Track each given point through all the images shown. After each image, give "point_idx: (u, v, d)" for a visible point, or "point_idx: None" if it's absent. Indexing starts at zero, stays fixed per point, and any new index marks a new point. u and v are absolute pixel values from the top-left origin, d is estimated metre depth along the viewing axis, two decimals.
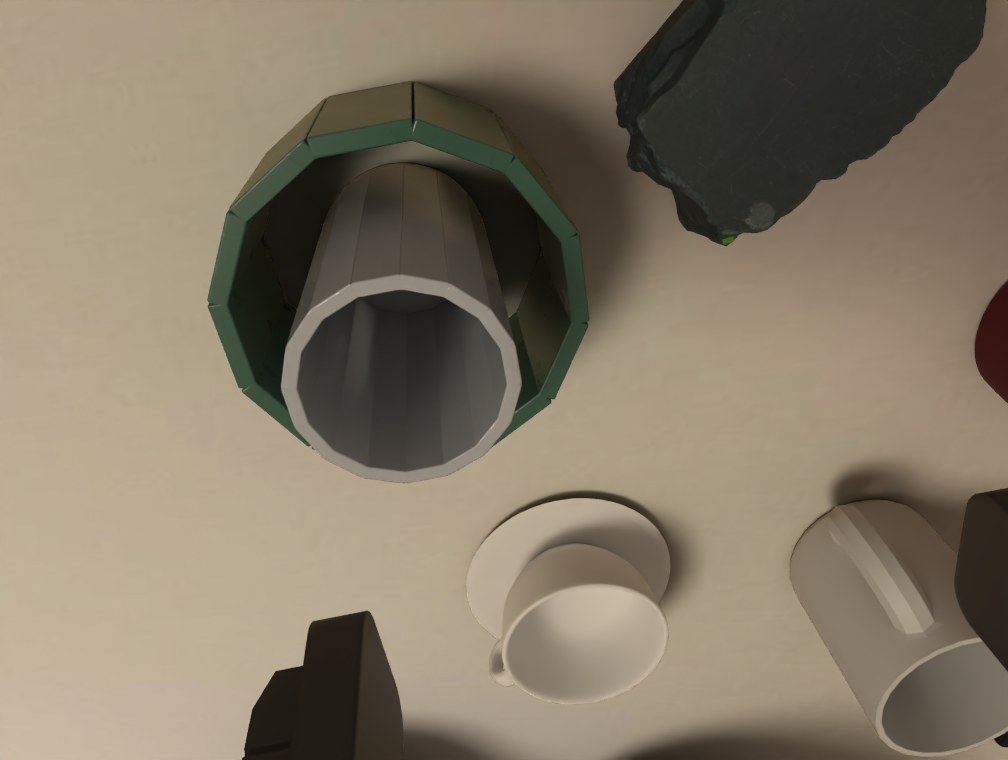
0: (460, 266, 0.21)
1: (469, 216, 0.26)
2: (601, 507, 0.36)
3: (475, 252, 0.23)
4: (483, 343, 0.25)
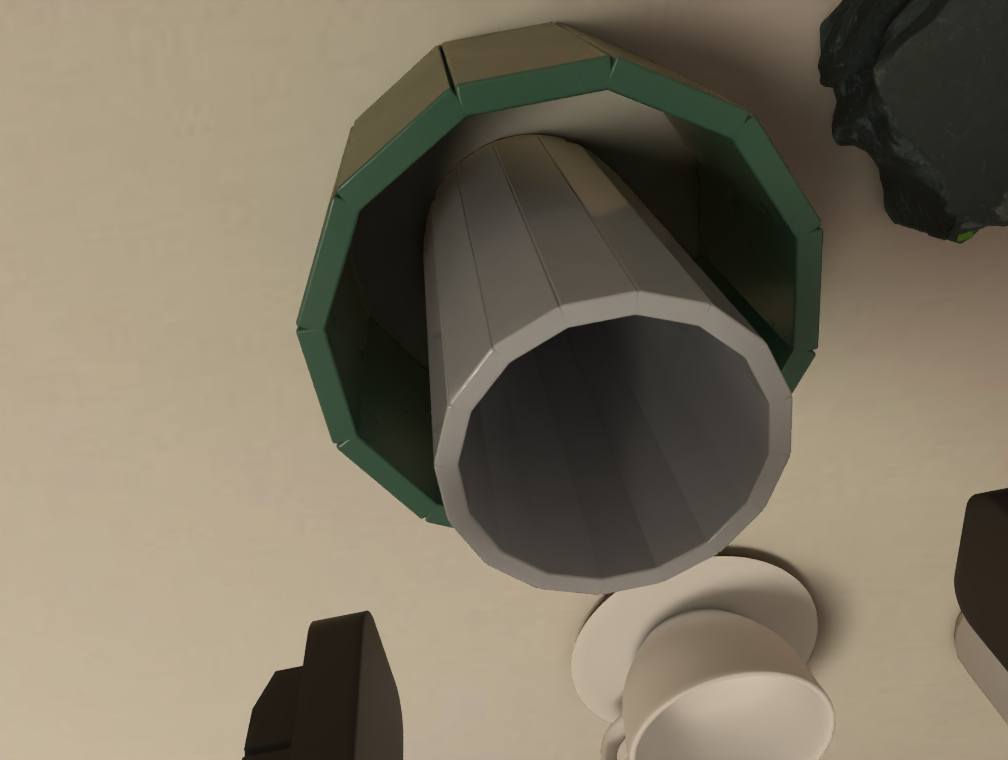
0: (696, 276, 0.14)
1: (643, 204, 0.19)
2: (743, 566, 0.29)
3: (687, 254, 0.16)
4: (671, 380, 0.18)
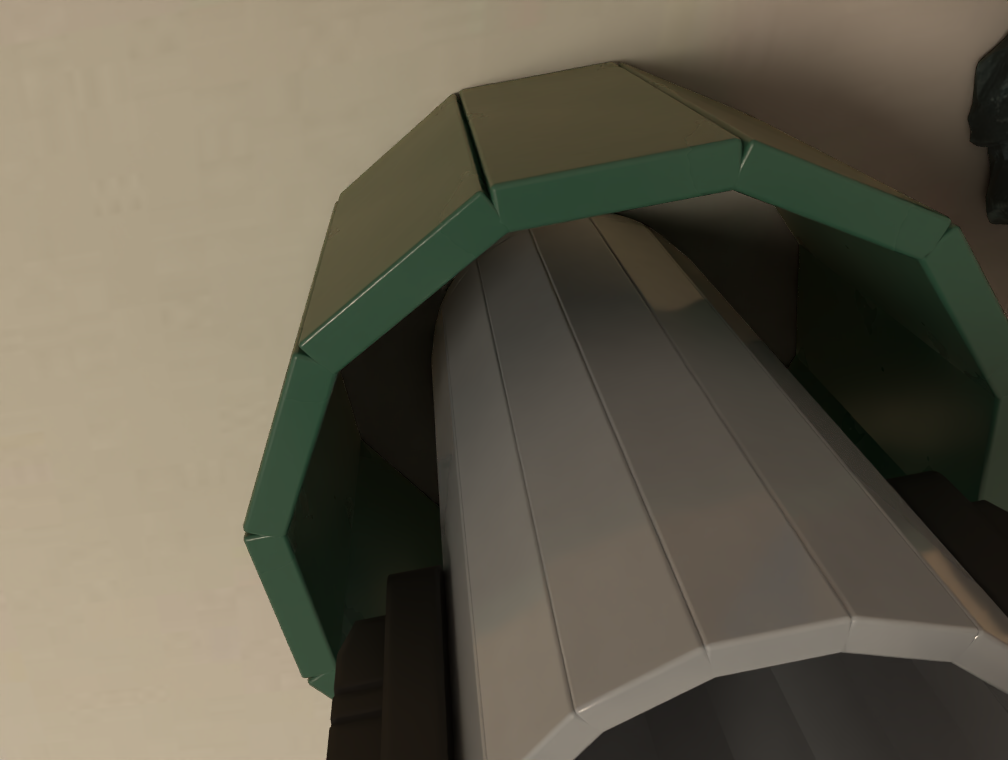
0: (901, 517, 0.08)
1: (746, 323, 0.13)
2: None
3: (845, 435, 0.10)
4: None
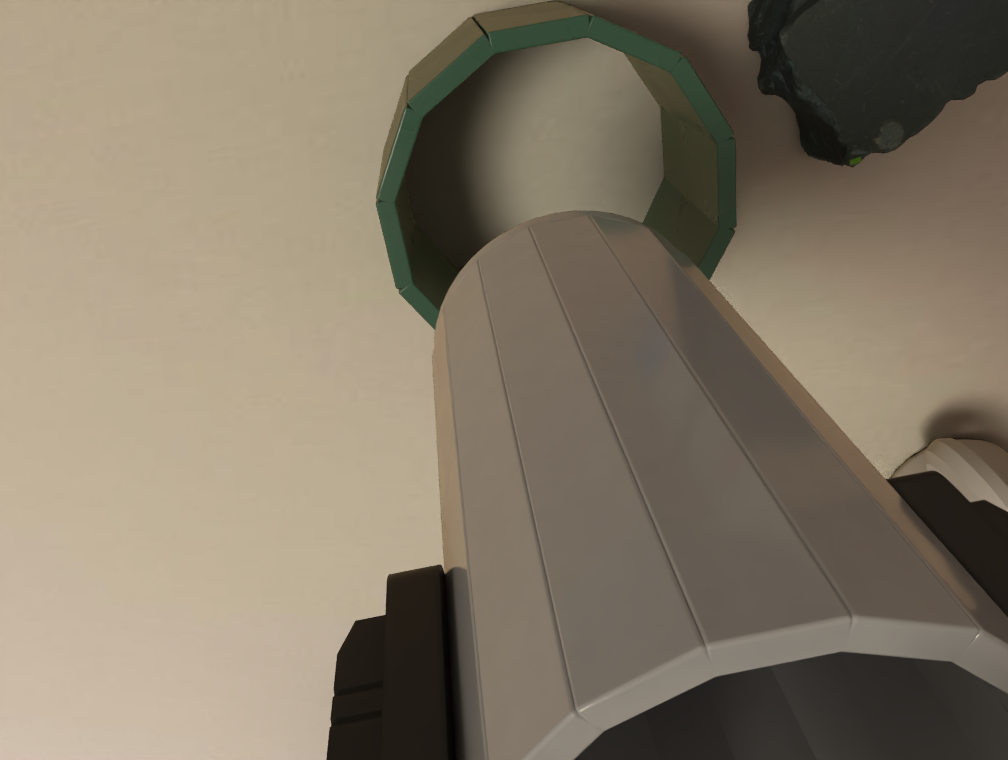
0: (901, 517, 0.08)
1: None
2: None
3: (845, 435, 0.10)
4: None
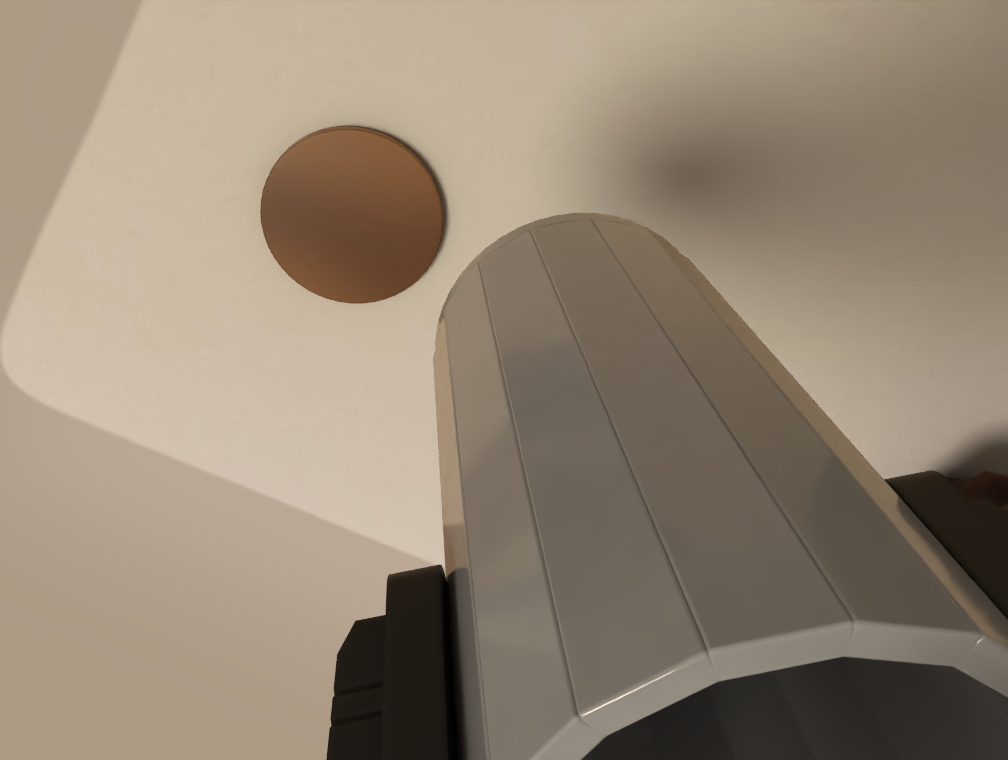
0: (902, 522, 0.08)
1: (748, 326, 0.13)
2: None
3: (846, 439, 0.10)
4: None
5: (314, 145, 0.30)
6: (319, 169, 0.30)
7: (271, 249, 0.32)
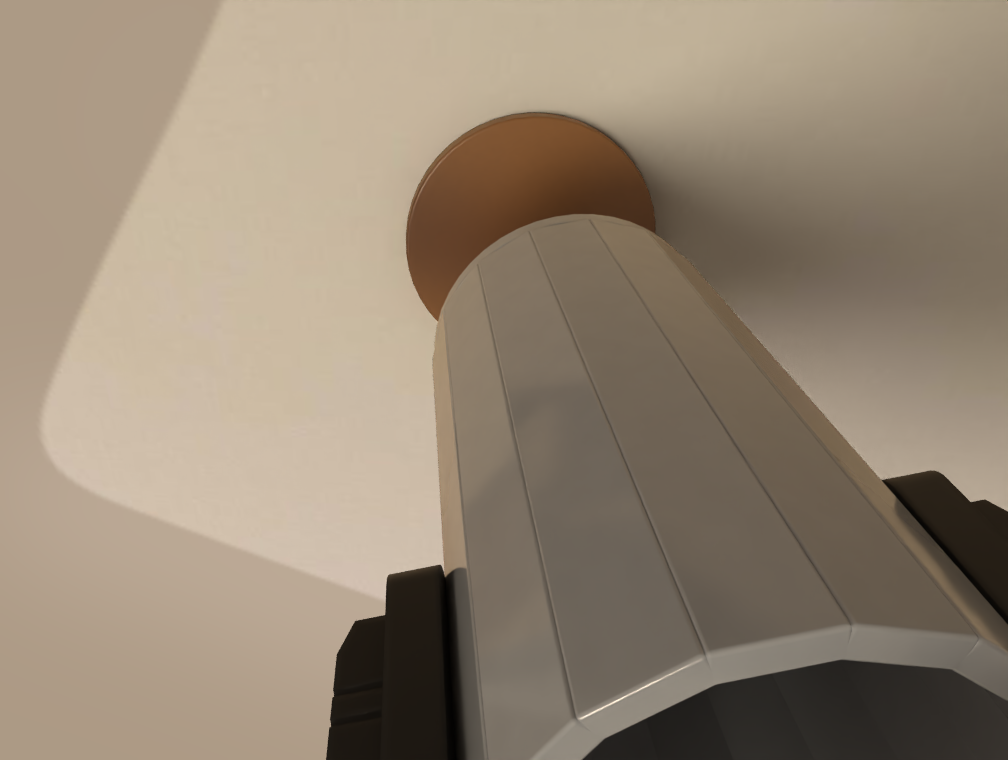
0: (901, 524, 0.08)
1: None
2: None
3: (845, 441, 0.10)
4: None
5: (489, 141, 0.21)
6: (493, 175, 0.21)
7: (417, 287, 0.23)
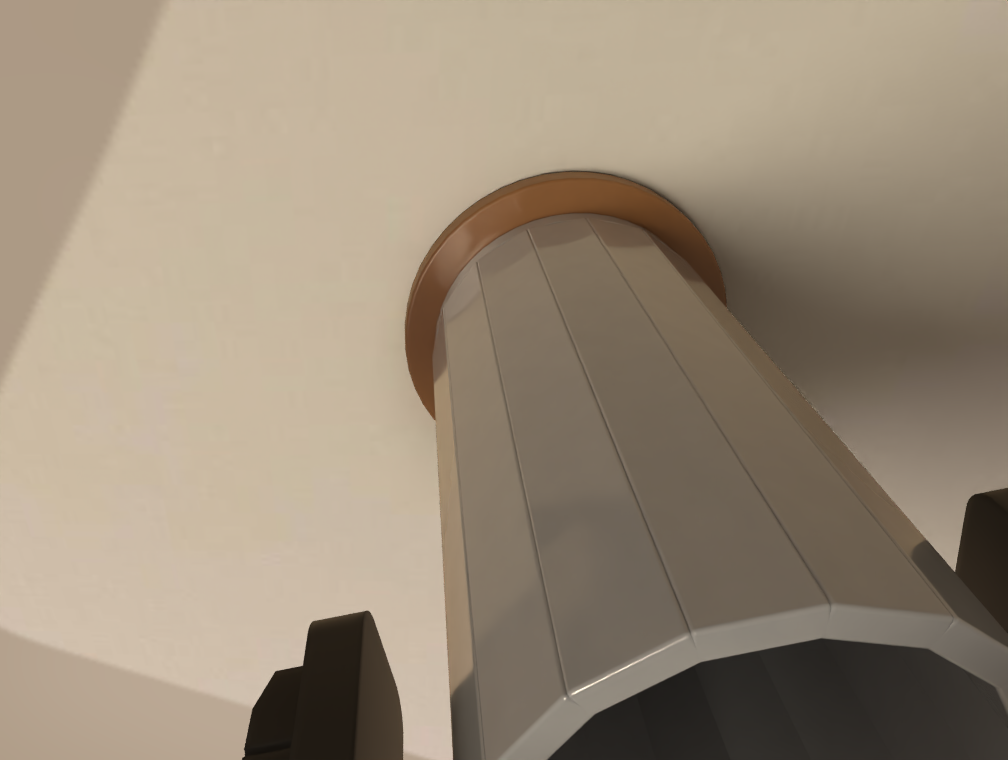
0: (884, 511, 0.08)
1: (740, 324, 0.13)
2: None
3: (833, 433, 0.10)
4: None
5: (514, 209, 0.16)
6: None
7: (420, 392, 0.18)
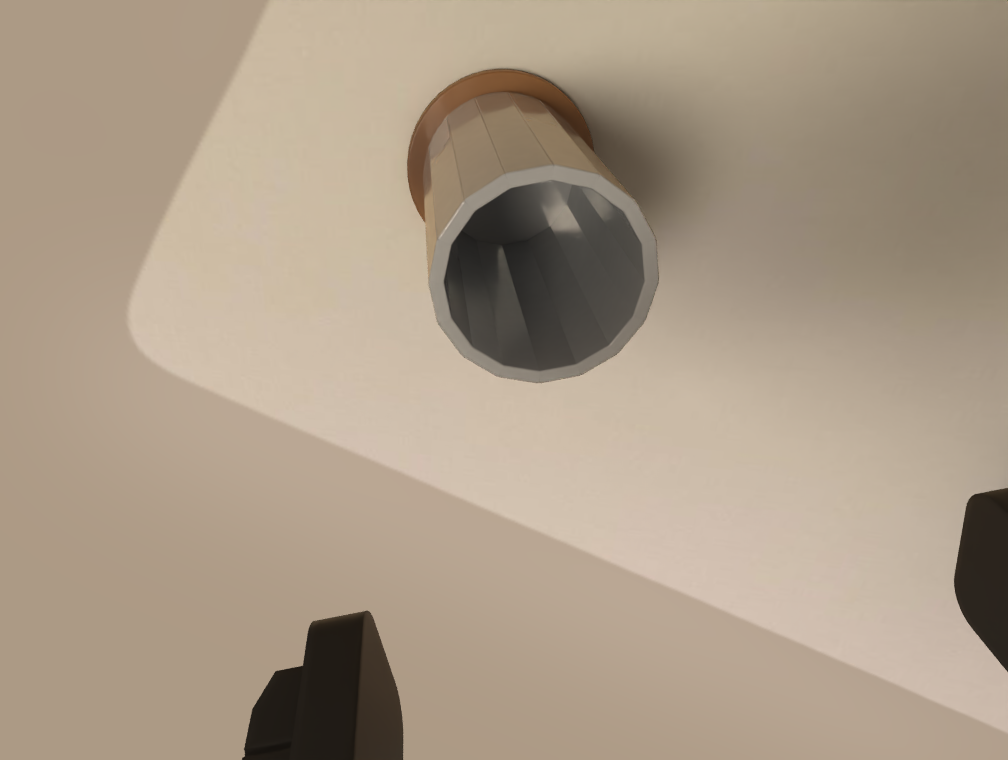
0: (598, 166, 0.21)
1: None
2: None
3: (601, 161, 0.23)
4: (597, 258, 0.25)
5: (468, 89, 0.29)
6: None
7: (416, 202, 0.30)
